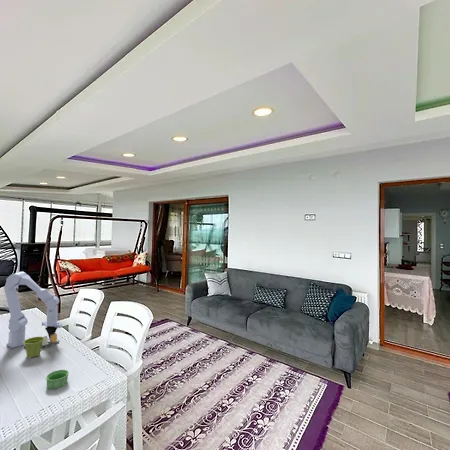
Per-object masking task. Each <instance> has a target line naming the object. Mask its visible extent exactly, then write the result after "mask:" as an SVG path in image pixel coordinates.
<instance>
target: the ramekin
mask: <svg viewBox="0 0 450 450" xmlns="http://www.w3.org/2000/svg"><path fill="white" fill-rule="evenodd" d="M69 373H70V372H69V370H67V369H59V370H53V371H51V372H50V373H48V374H47V375H46V377H45V379H46V387H47V388H48V389H49V390H50V389H51V390H53V389H55V390H56V389H60V388H61V387H64V386H65V385H66V384H67V383H68V379H69V378H68V376H69Z"/></svg>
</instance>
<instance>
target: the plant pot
mask: <svg viewBox="0 0 450 450" xmlns="http://www.w3.org/2000/svg"><path fill="white" fill-rule="evenodd" d="M43 340H44V336H33V337H29V338H27V339H25V341H24V345H25V347H26V349H25V352H26V357H27V358H36V357H38V356H40V354H41V351H42V349H41V346H42V342H43Z"/></svg>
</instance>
